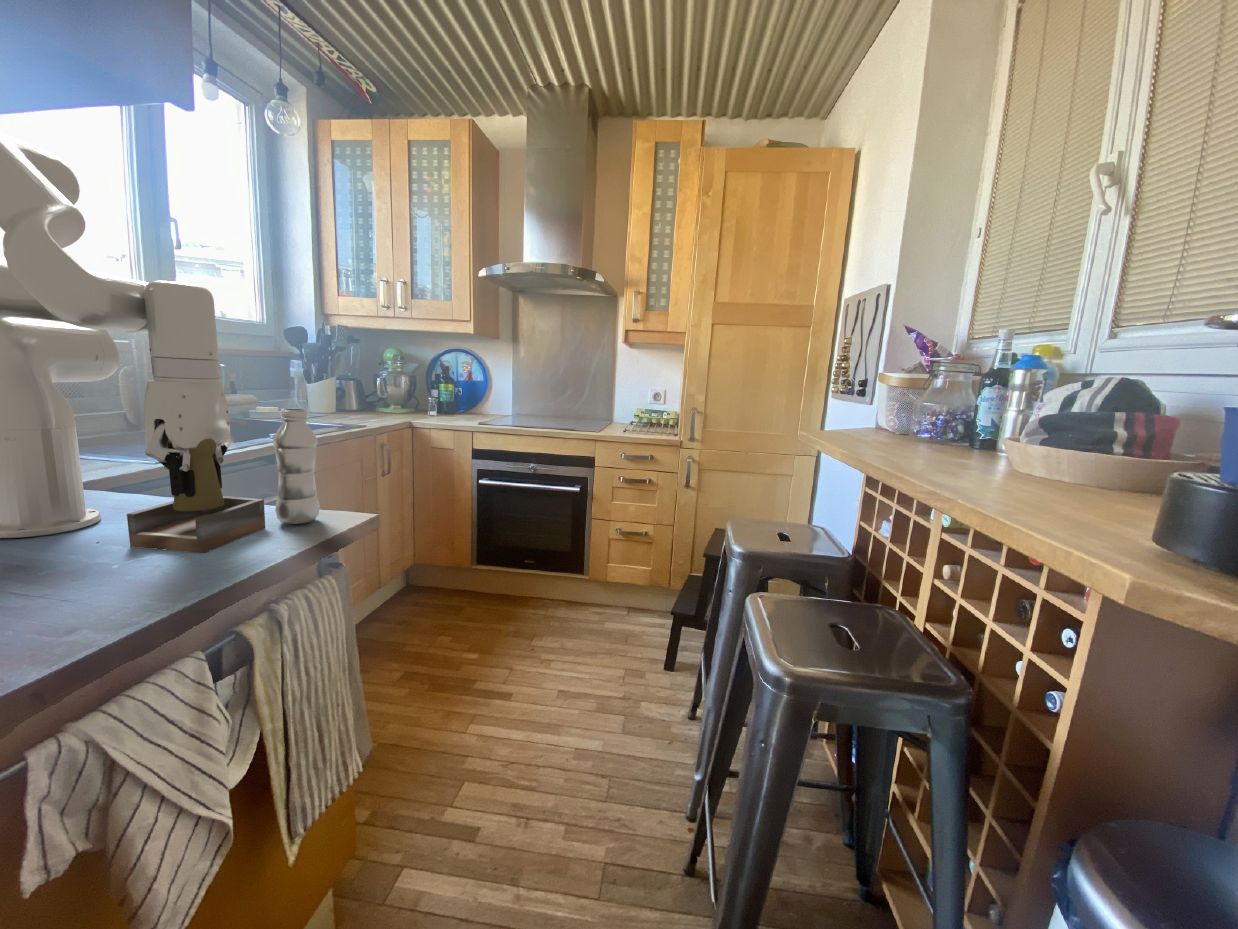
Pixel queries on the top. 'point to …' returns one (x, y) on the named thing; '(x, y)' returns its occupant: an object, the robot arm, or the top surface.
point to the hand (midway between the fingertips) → (197, 491)
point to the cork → (202, 480)
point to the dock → (195, 525)
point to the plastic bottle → (296, 468)
